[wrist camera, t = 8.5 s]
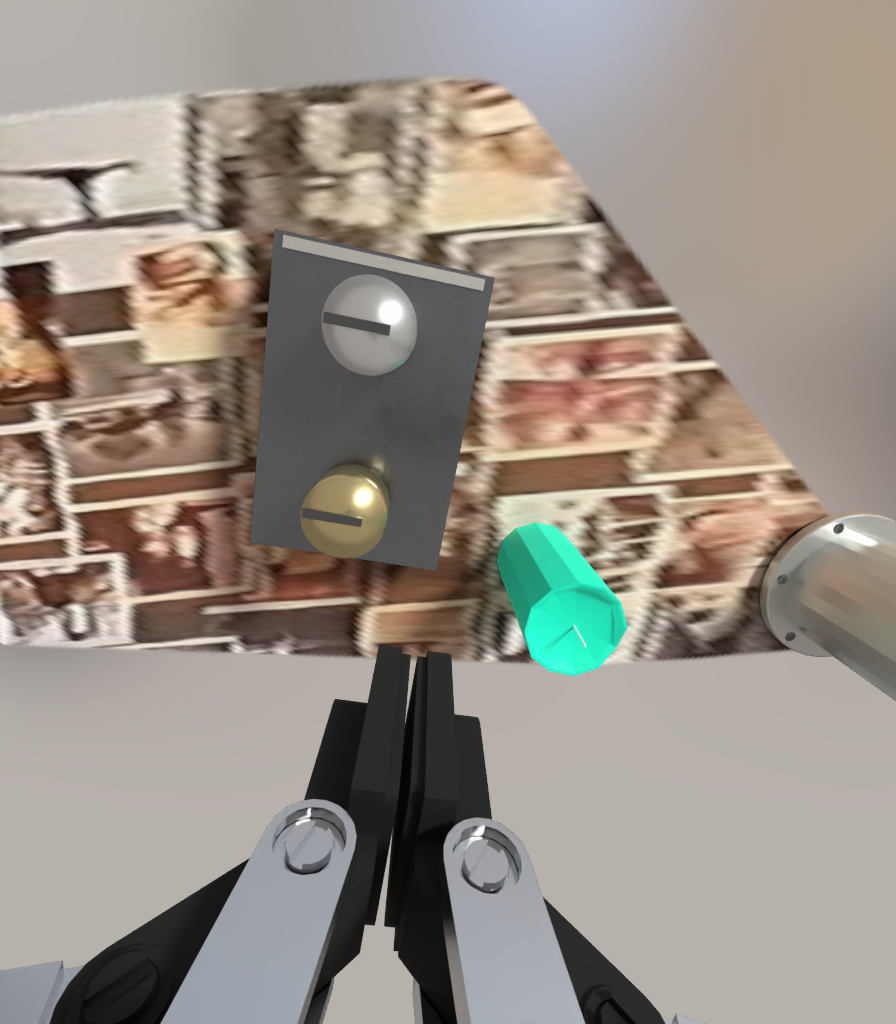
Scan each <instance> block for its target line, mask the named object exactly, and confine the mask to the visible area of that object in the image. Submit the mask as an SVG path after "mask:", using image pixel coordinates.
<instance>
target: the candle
mask: <svg viewBox="0 0 896 1024" xmlns="http://www.w3.org/2000/svg"><path fill="white" fill-rule="evenodd" d="M497 564H498V567H499V571H500V574H501V578H502V581H503V583H504V586H505V589H506V591H507V594H508V596H509V599H510V602H511V604H512V607H513V610H514V612H515V615H516V618H517V620H518V623H519V626H520V628H521V631H522V633H523V636H524V639H525V641H526V644H527V647H528V649H529V652H530V655H531V657H532V658H533V659H534V660H535V661H537V662H538V663H539V664H541V665H542V666H543V667H545V668H546V669H547V670H549V671H552V672H557V673H562V674H567V675H573V676H575V675H578V674H581V673H584V672H587V671H590V670H593V669H597V668H599V667H600V666H601V665H602V664H603V662H604V661H605V660H606V659H607V658H608V657H609V655H610V654H611V653H612V652H613V651H614V649H615V648H616V647H617V645H618V644H619V642H620V640H621V638H622V636H623V635H624V633H625V631H626V629H627V624H626V620H625V616H624V612H623V609H622V605H621V602H620V601H619V600H618V598H617V597H616V596H615V595H614V594H613V592H612V591H611V590H610V589H609V588H608V586H607V585H606V584H605V583H604V581H603V580H602V579H601V578H600V577H599V575H598V574H597V573H596V572H595V571H594V569H593V568H592V567H591V566H590V565H589V563H588V562H587V561H586V560H585V559H584V557H583V556H582V555H581V554H580V553H579V551H578V550H577V549H576V548H575V546H574V545H573V544H572V543H571V542H570V540H569V539H568V538H567V537H566V536H564V535H563V534H562V533H561V532H560V531H559V530H558V529H557V528H556V527H554V526H550V525H545V524H540V523H533V524H530V525H526V526H523V527H520V528H516V529H515V530H514V531H513V532H512V533H511V534H510V535H509V536H508V537H507V538H506V539H505V540H504V541H503V542H502V544H501V547H500V551H499V554H498V558H497Z"/></svg>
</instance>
